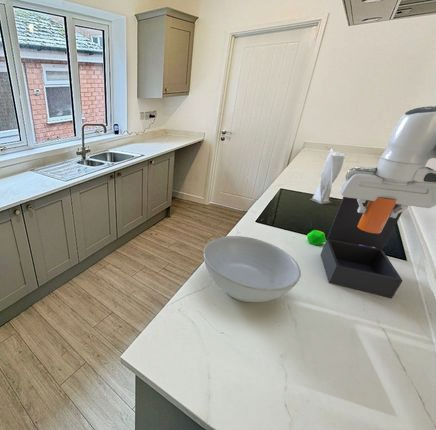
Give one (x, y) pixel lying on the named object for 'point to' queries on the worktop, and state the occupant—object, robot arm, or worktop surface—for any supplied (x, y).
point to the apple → (316, 237)
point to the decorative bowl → (250, 268)
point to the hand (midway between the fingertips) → (375, 214)
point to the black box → (360, 268)
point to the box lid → (349, 232)
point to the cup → (376, 214)
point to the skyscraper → (328, 177)
